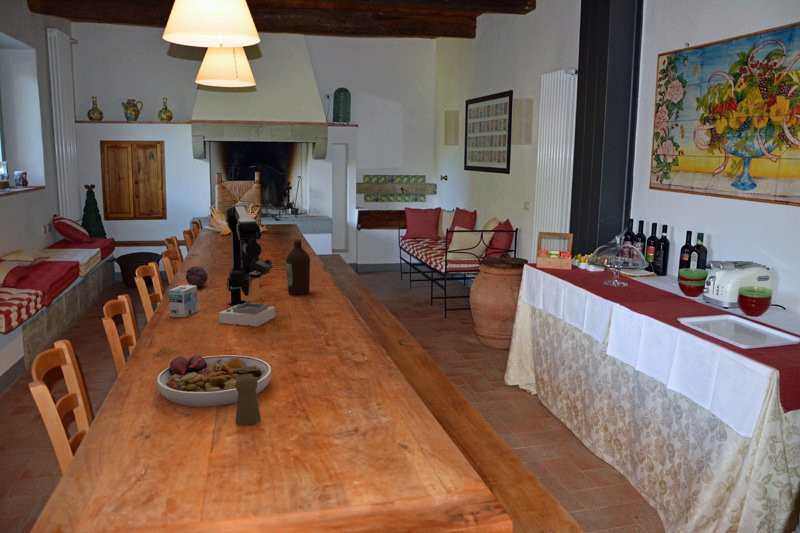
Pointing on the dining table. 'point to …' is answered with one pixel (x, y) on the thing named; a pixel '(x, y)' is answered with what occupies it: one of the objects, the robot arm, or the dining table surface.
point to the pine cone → (196, 276)
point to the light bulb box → (183, 301)
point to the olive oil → (298, 270)
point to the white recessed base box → (247, 314)
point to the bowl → (210, 379)
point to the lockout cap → (252, 290)
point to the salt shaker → (247, 401)
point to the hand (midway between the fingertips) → (250, 294)
